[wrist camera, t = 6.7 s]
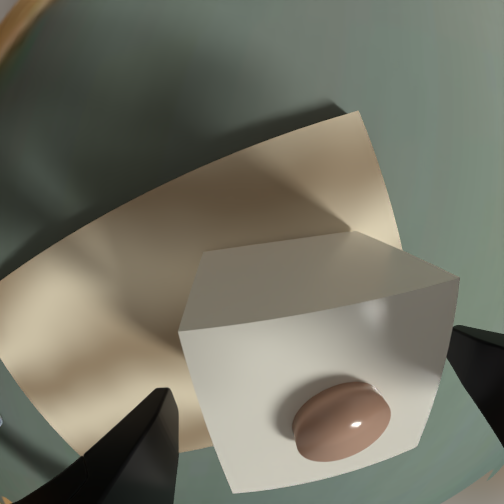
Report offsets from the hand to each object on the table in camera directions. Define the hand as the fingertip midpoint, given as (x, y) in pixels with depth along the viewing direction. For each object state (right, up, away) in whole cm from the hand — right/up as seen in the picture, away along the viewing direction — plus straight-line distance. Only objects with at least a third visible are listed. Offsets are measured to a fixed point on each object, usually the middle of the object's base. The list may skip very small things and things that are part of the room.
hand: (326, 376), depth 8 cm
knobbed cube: (-1, +1, +5) cm, 5 cm away
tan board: (-6, -1, +6) cm, 9 cm away
